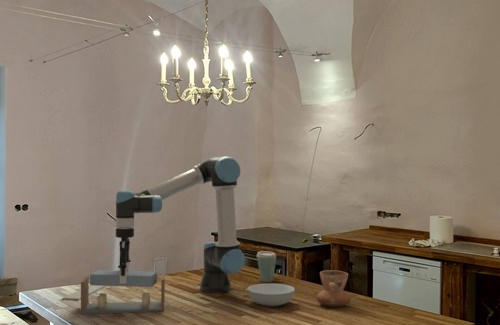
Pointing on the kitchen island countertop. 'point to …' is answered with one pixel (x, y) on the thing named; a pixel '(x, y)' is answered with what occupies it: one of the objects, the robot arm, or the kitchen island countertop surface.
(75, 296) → the baseboard
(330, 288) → the ceramic jug
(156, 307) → the peg shelf
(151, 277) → the shelf board
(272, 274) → the disposable coffee cup
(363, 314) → the kitchen island countertop surface
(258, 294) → the serving bowl
